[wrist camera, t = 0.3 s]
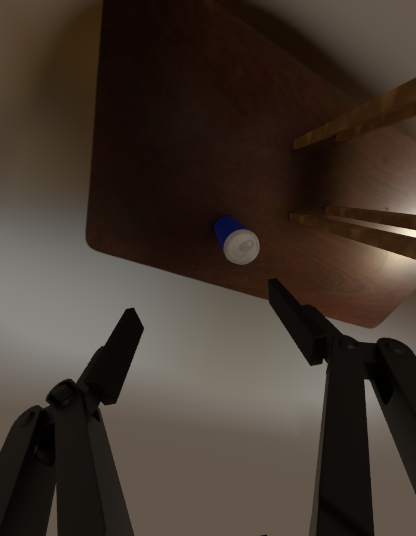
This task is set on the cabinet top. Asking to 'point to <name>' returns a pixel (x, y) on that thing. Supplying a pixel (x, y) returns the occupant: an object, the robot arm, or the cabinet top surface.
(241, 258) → the beverage can
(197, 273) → the cabinet top surface
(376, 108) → the shelf
